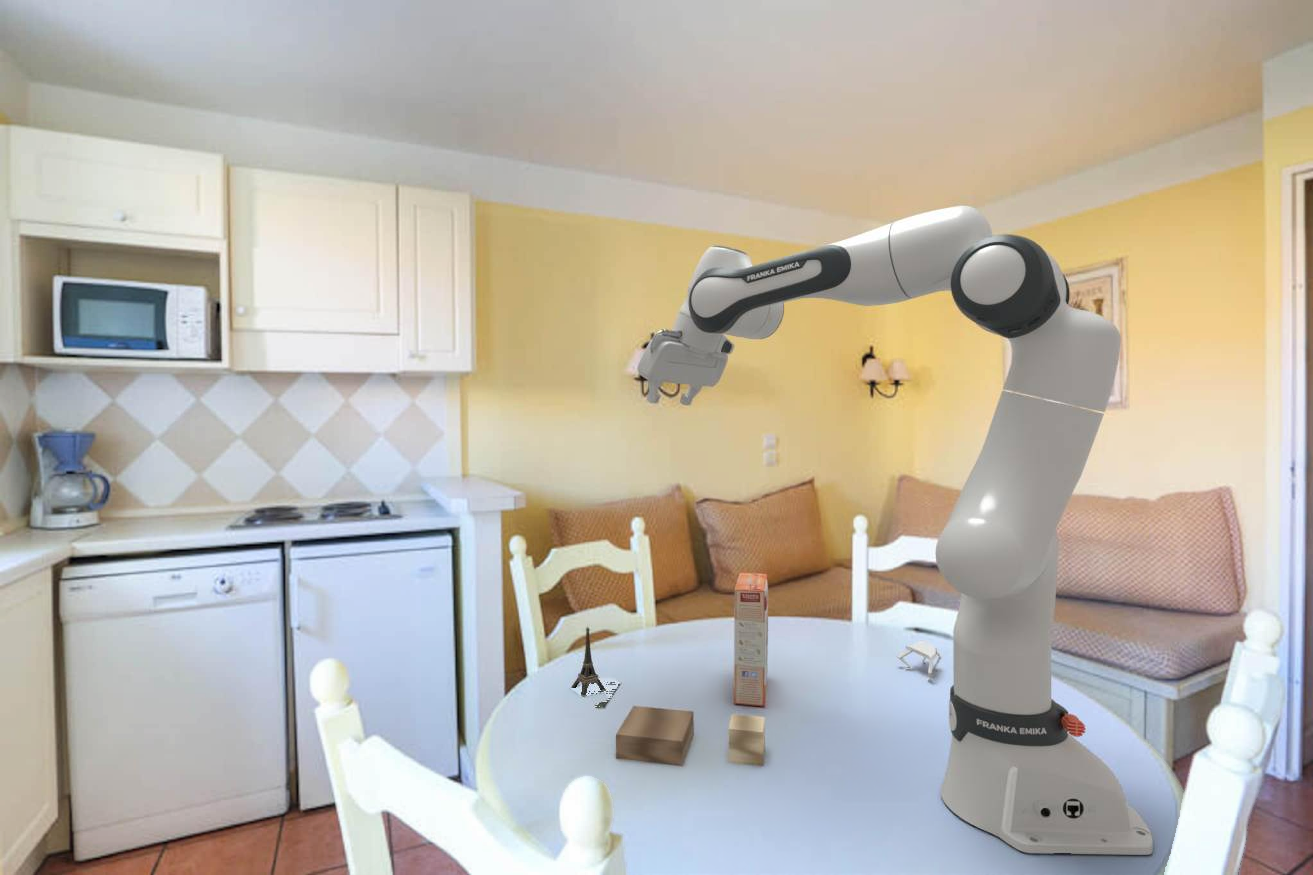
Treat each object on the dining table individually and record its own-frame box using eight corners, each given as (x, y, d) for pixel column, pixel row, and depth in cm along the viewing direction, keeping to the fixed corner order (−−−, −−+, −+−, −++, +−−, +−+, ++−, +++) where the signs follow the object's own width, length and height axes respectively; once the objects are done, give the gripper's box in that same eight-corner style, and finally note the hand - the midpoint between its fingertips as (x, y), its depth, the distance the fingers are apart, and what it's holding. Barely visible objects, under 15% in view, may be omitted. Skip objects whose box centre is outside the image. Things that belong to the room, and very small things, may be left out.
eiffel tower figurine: (605, 712, 109) (604, 636, 109) (550, 708, 111) (550, 633, 111) (626, 679, 124) (625, 612, 124) (577, 676, 126) (576, 610, 126)
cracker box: (767, 708, 109) (766, 589, 109) (733, 705, 111) (732, 588, 111) (769, 677, 123) (768, 572, 123) (738, 675, 124) (738, 571, 124)
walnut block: (693, 736, 100) (693, 711, 100) (682, 768, 90) (681, 741, 90) (633, 729, 102) (633, 705, 102) (616, 761, 93) (615, 734, 93)
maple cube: (765, 749, 95) (764, 717, 95) (763, 766, 90) (762, 732, 90) (732, 746, 96) (732, 714, 96) (728, 762, 91) (728, 728, 91)
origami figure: (890, 663, 131) (890, 639, 131) (929, 662, 131) (929, 639, 131) (916, 685, 119) (915, 660, 119) (958, 685, 119) (958, 659, 119)
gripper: (670, 334, 103) (641, 408, 107) (740, 347, 118) (712, 412, 123) (645, 320, 107) (618, 393, 111) (716, 334, 122) (690, 398, 126)
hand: (668, 403), depth 117 cm, fingers open, 8 cm apart
